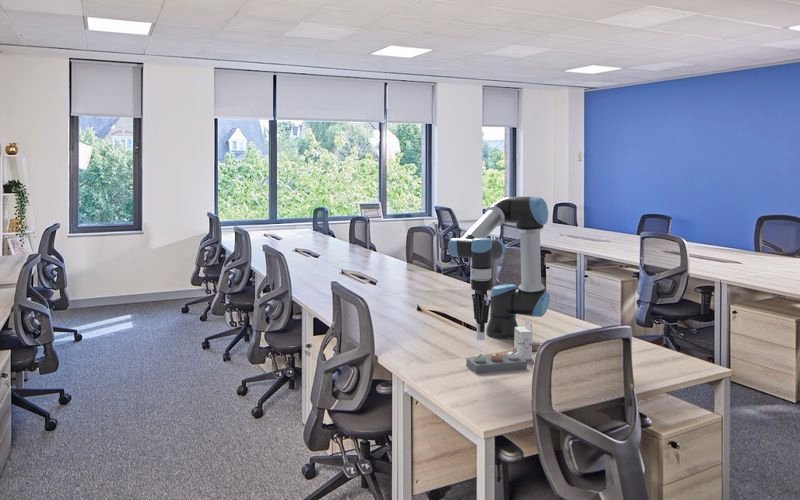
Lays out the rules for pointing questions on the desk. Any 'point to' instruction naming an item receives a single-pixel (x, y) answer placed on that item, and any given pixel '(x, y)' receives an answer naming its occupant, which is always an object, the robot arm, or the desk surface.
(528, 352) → the ink cartridge box
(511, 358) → the cream button
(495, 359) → the terracotta button
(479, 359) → the sage button
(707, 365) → the desk surface
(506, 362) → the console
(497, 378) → the desk surface
